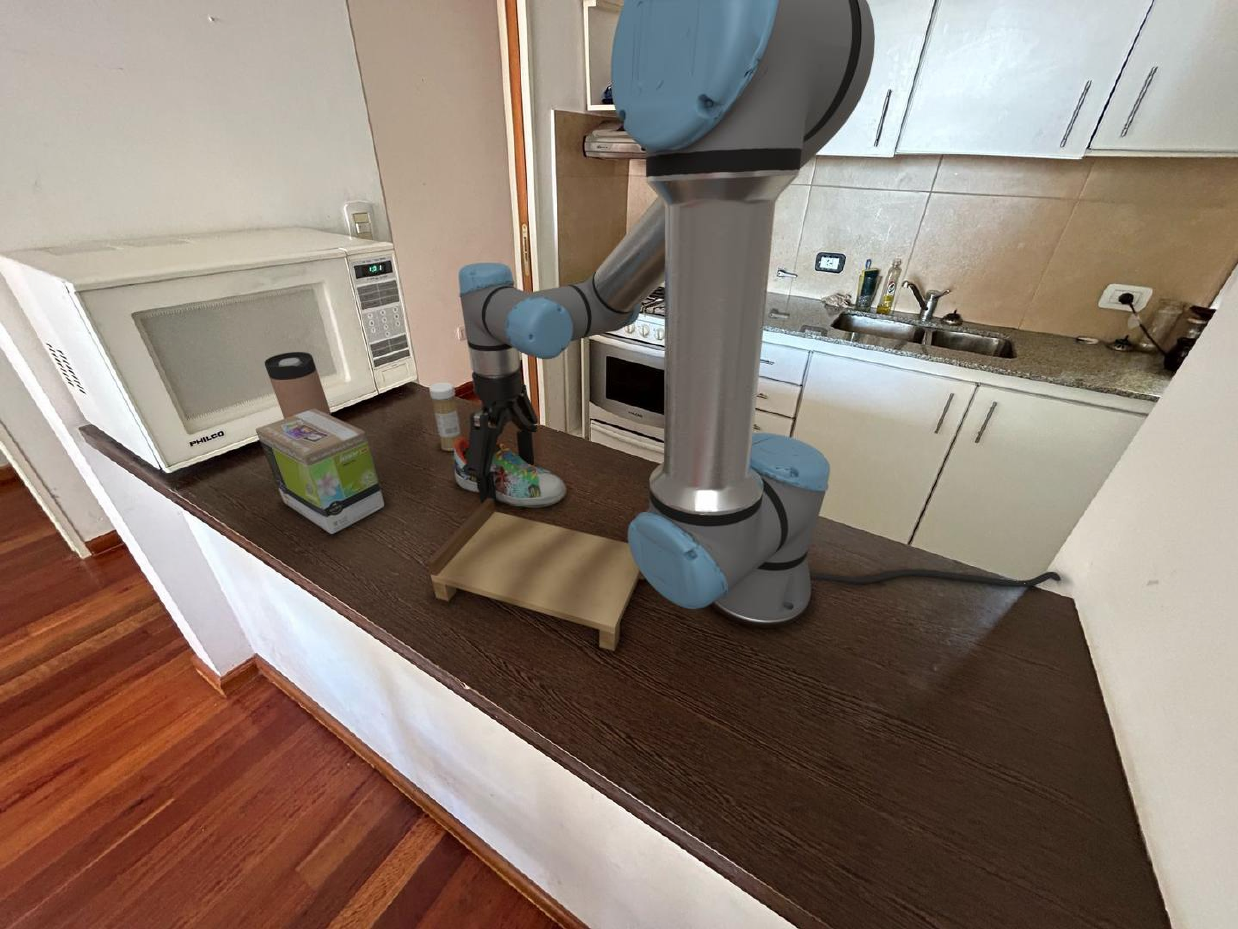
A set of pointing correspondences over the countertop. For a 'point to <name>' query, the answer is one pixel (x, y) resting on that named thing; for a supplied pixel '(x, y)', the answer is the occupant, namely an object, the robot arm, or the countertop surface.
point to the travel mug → (296, 383)
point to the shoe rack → (539, 569)
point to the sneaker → (512, 478)
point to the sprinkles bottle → (446, 414)
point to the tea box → (322, 468)
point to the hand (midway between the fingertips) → (509, 482)
